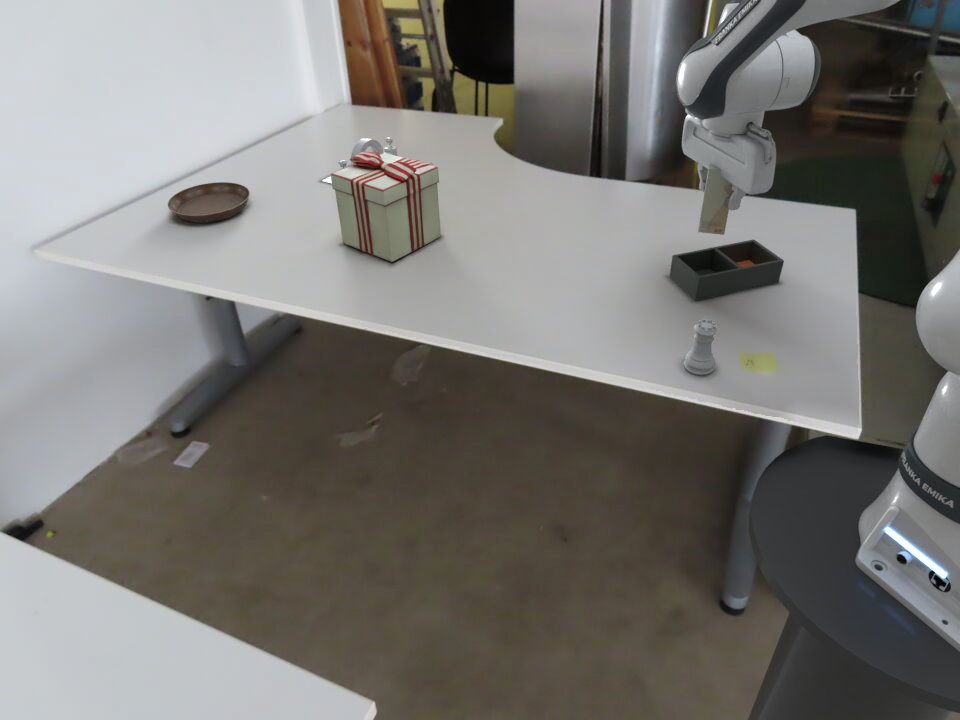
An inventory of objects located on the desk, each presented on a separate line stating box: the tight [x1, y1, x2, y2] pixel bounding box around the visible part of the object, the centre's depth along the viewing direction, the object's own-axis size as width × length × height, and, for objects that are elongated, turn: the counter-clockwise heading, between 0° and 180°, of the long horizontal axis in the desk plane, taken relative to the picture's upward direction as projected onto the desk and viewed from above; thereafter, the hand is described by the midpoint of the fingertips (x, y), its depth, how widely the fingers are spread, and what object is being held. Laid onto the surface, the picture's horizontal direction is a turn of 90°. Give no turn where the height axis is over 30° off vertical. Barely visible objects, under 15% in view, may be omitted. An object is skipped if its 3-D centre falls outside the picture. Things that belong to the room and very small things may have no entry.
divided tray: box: [669, 239, 785, 301], centre depth 124 cm, size 9×17×4 cm, turn 108°
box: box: [697, 163, 734, 236], centre depth 114 cm, size 5×4×11 cm
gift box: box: [330, 151, 442, 263], centre depth 139 cm, size 17×18×17 cm
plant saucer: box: [167, 181, 251, 224], centre depth 157 cm, size 18×18×3 cm
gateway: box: [321, 136, 398, 185], centre depth 171 cm, size 20×2×8 cm, turn 147°
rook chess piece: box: [683, 318, 718, 376], centre depth 103 cm, size 4×4×8 cm
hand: (718, 199), depth 115 cm, fingers closed on box, 6 cm apart
